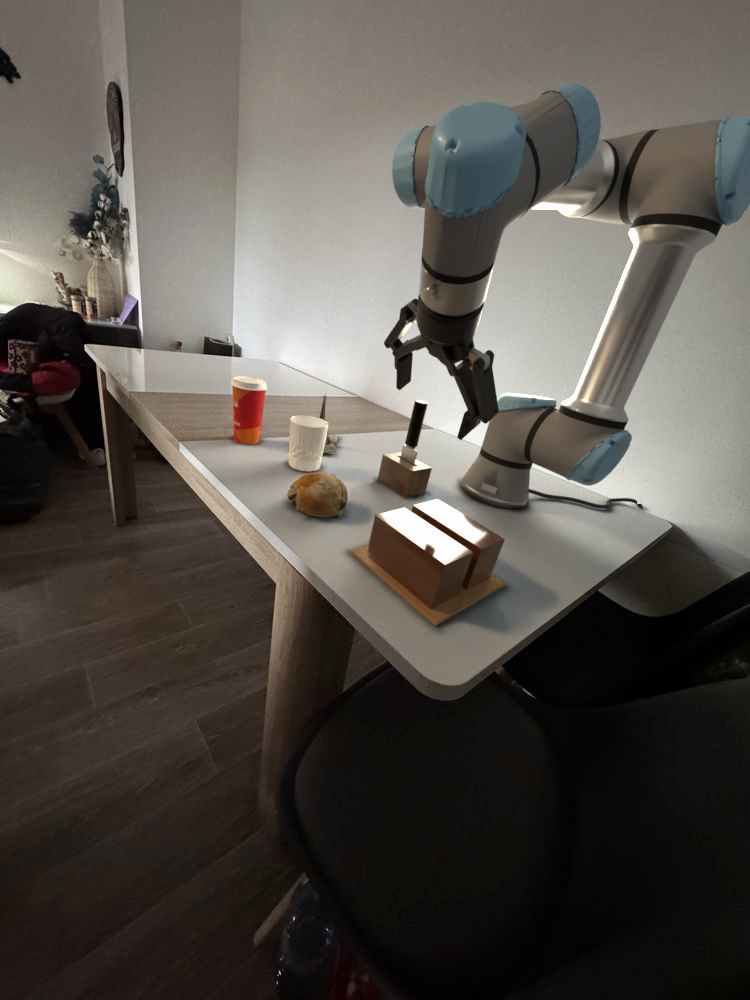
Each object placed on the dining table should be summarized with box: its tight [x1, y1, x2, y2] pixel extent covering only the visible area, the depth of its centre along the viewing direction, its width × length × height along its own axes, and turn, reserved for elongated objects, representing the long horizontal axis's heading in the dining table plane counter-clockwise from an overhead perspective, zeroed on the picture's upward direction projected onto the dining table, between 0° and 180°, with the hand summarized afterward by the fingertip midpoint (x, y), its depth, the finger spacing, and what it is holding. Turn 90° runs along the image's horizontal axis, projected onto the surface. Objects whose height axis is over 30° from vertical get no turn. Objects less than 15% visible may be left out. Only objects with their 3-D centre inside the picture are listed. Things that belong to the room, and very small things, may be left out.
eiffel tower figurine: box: [319, 391, 338, 455], centre depth 96 cm, size 15×10×13 cm
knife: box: [400, 399, 429, 466], centre depth 81 cm, size 4×3×19 cm, turn 41°
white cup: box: [288, 414, 330, 473], centre depth 83 cm, size 8×8×10 cm
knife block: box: [377, 451, 433, 499], centre depth 84 cm, size 9×6×6 cm, turn 41°
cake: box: [351, 498, 506, 627], centre depth 57 cm, size 17×16×8 cm
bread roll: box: [286, 471, 349, 519], centre depth 69 cm, size 10×10×8 cm
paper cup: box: [230, 375, 268, 445], centre depth 89 cm, size 8×8×14 cm
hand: (433, 408), depth 64 cm, fingers open, 13 cm apart
